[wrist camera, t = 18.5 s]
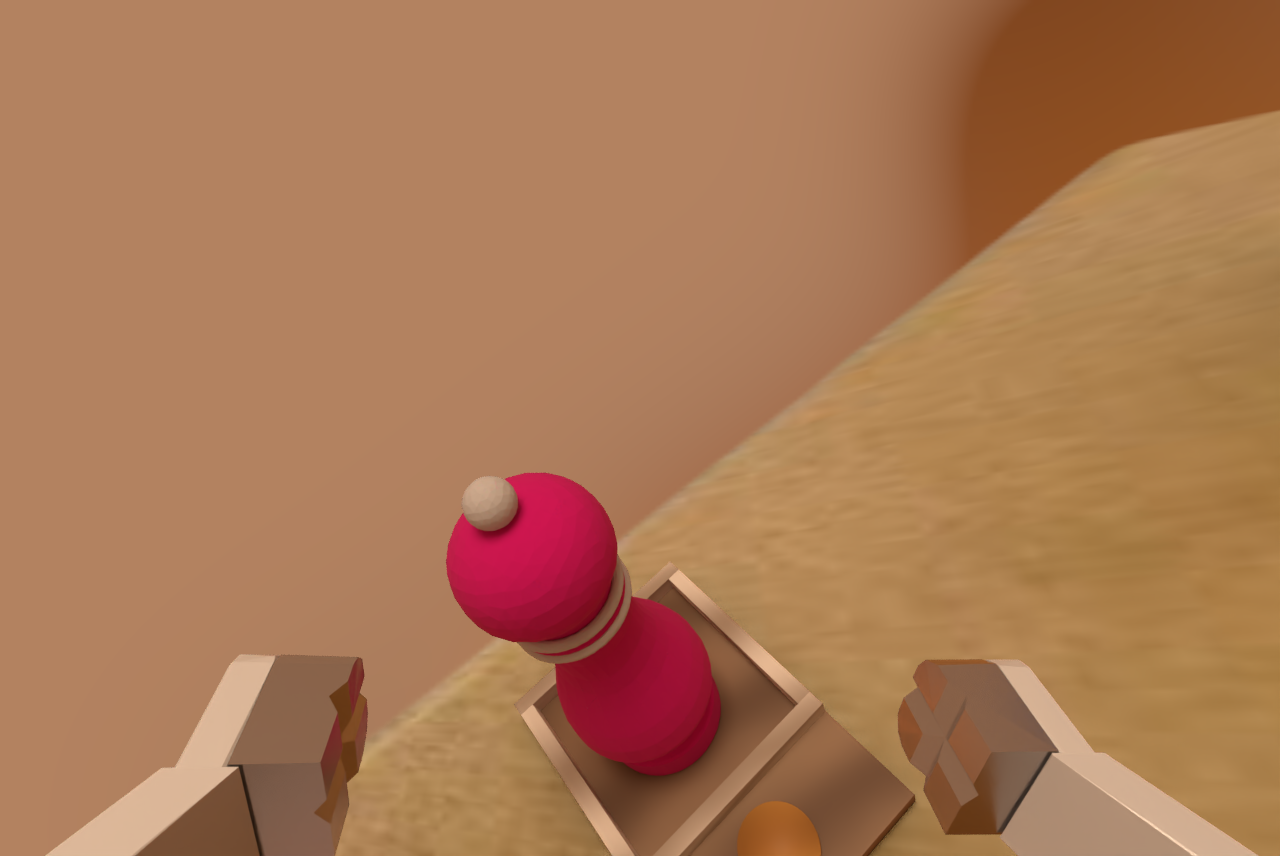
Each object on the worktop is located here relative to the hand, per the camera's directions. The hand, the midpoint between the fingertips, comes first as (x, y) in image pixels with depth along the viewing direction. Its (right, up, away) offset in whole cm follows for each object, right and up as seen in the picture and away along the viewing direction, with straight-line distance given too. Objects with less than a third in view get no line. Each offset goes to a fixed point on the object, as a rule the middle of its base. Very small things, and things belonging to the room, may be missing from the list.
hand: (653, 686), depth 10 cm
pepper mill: (+1, -11, +26) cm, 28 cm away
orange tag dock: (+3, -13, +25) cm, 28 cm away
